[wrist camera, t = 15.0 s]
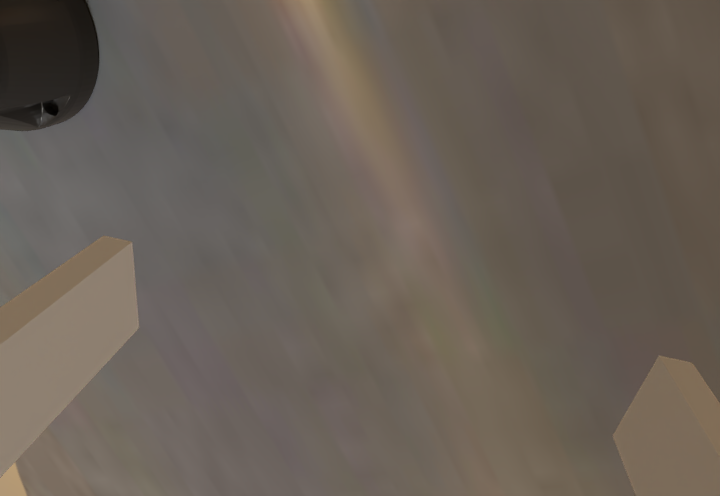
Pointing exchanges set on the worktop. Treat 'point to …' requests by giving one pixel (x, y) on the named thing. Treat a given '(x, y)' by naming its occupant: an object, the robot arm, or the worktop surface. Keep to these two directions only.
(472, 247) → the worktop surface
